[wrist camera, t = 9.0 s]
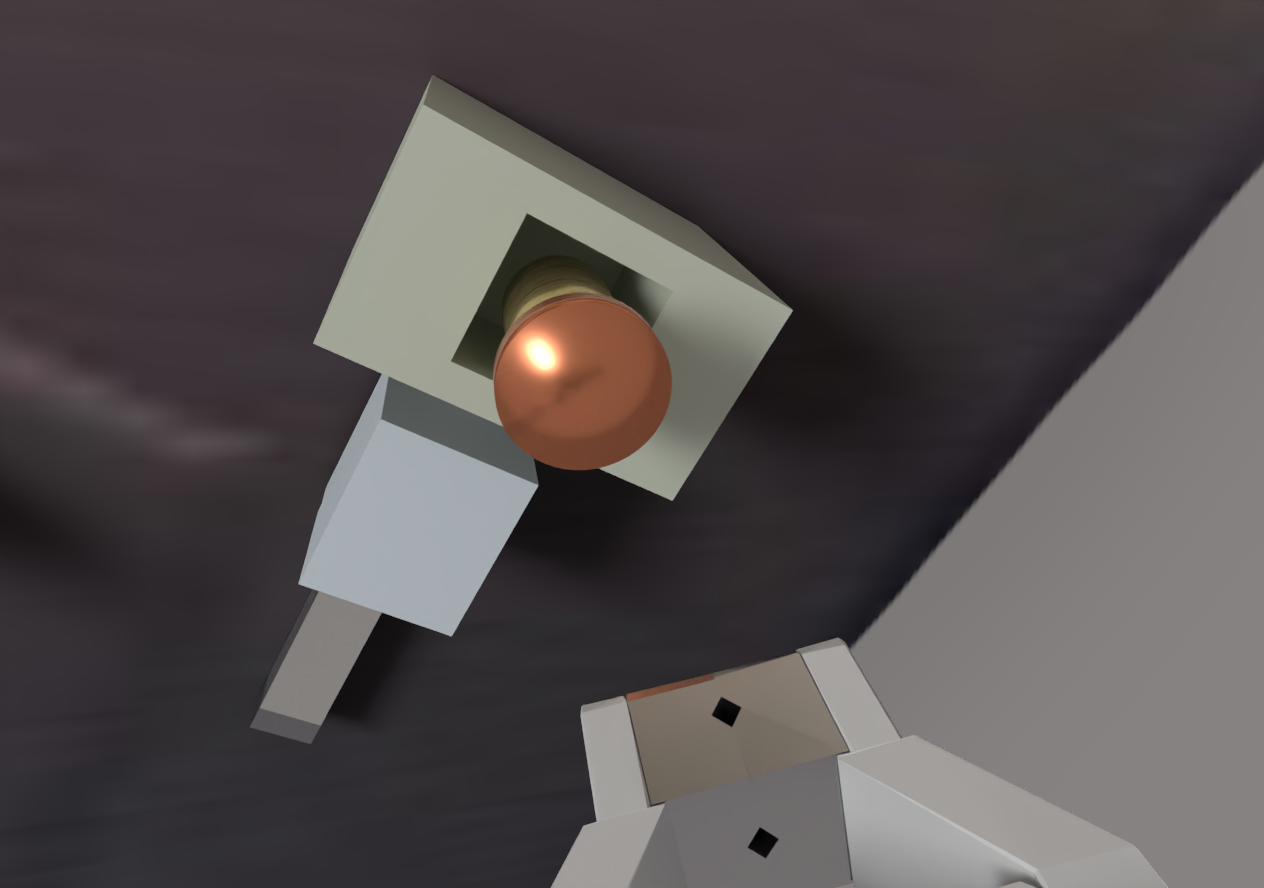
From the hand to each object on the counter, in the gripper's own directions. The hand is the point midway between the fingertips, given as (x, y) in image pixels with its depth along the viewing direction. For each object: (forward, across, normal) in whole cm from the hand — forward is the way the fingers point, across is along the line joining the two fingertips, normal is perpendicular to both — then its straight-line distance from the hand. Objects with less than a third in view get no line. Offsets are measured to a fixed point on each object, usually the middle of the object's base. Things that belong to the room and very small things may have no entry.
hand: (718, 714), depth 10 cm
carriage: (+23, +6, +6) cm, 25 cm away
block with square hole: (+24, +1, 0) cm, 24 cm away
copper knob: (+15, +1, 0) cm, 15 cm away
